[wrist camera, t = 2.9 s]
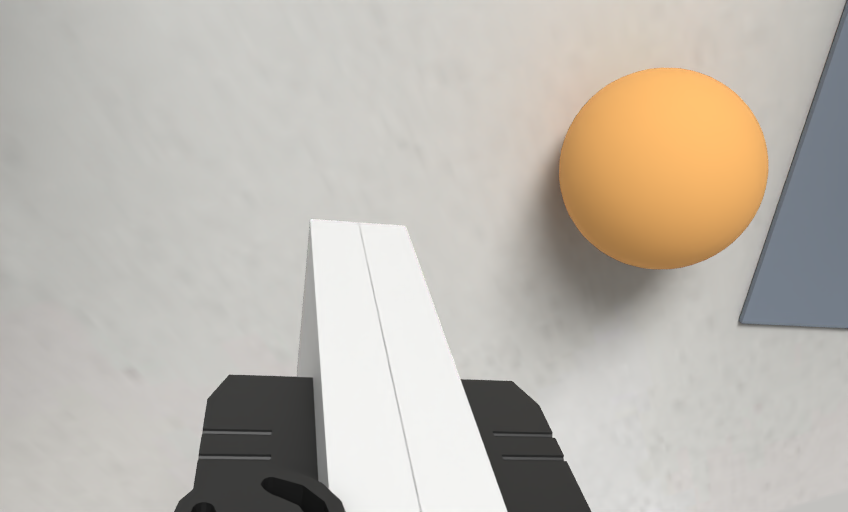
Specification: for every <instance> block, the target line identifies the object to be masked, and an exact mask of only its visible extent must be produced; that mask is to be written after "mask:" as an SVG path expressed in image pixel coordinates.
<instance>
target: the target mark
mask: <svg viewBox="0 0 848 512" xmlns="http://www.w3.org/2000/svg"><path fill="white" fill-rule="evenodd" d="M739 321H740V322H741V323H746V324H767V325H789V326H810V327H832V328H848V0H847V3H846V6H845V9H844V11H843V14H842V17H841V20H840V23H839V26H838V29H837V32H836V35H835V38H834V41H833V44H832V47H831V50H830V53H829V56H828V59H827V62H826V65H825V68H824V71H823V74H822V77H821V80H820V82H819V85H818V88H817V91H816V94H815V97H814V100H813V103H812V106H811V109H810V112H809V115H808V118H807V121H806V124H805V127H804V130H803V133H802V136H801V139H800V142H799V145H798V148H797V150H796V153H795V156H794V159H793V162H792V165H791V168H790V171H789V174H788V177H787V180H786V183H785V186H784V189H783V192H782V195H781V198H780V201H779V204H778V207H777V210H776V213H775V216H774V218H773V221H772V224H771V227H770V230H769V233H768V236H767V239H766V242H765V245H764V248H763V251H762V254H761V257H760V260H759V263H758V266H757V269H756V272H755V275H754V278H753V281H752V284H751V286H750V289H749V292H748V295H747V298H746V301H745V304H744V307H743V310H742V313H741V316H740V319H739Z"/></svg>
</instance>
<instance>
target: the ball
mask: <svg viewBox="0 0 848 512" xmlns="http://www.w3.org/2000/svg"><path fill="white" fill-rule="evenodd" d="M767 177H768V154H767V147H766V142H765V139H764V135H763V132H762V130H761V128H760V126H759V123H758V121H757V119H756V118H755V116H754V114H753V113H752V111H751V110H750V108H749V107H748V106H747V105H746V104H745V102H744V101H743V100H742V99H741V98H740V97H739V96H738V95H737V94H736V93H735V92H734V91H732V90H731V89H730V88H728V87H727V86H726V85H724V84H722V83H721V82H719V81H717V80H715V79H713V78H712V77H710V76H707V75H704V74H701V73H698V72H695V71H691V70H686V69H681V68H654V69H647V70H643V71H639V72H635V73H632V74H630V75H627V76H624V77H621V78H620V79H618V80H616V81H614V82H612V83H610V84H609V85H607V86H606V87H604V88H603V89H601V90H600V91H599V92H597V93H596V94H595V95H594V96H593V97H592V98H591V99H590V100H589V101H588V102H587V103H586V104H585V105H584V106H583V107H582V109H581V110H580V111H579V113H578V114H577V115H576V117H575V118H574V120H573V122H572V124H571V126H570V127H569V129H568V132H567V134H566V137H565V139H564V142H563V146H562V149H561V155H560V162H559V181H560V189H561V193H562V197H563V201H564V204H565V206H566V209H567V211H568V213H569V216H570V217H571V219H572V220H573V222H574V224H575V225H576V227H577V228H578V230H579V231H580V232H581V233H582V235H583V236H584V237H585V238H586V239H587V240H588V241H589V242H590V243H591V244H593V245H594V246H595V247H596V248H597V249H598V250H600V251H601V252H603V253H605V254H606V255H608V256H610V257H612V258H613V259H615V260H618V261H620V262H622V263H625V264H629V265H632V266H636V267H640V268H646V269H675V268H681V267H685V266H689V265H693V264H696V263H698V262H701V261H704V260H706V259H708V258H710V257H712V256H714V255H716V254H717V253H719V252H721V251H722V250H724V249H725V248H726V247H728V246H729V245H730V244H731V243H733V242H734V241H735V240H736V239H737V238H738V237H739V236H740V235H741V234H742V233H743V231H744V230H745V229H746V228H747V227H748V225H749V224H750V222H751V221H752V219H753V218H754V216H755V214H756V212H757V210H758V209H759V207H760V204H761V201H762V199H763V196H764V192H765V188H766V184H767Z"/></svg>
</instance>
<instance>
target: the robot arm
mask: <svg viewBox="0 0 848 512" xmlns="http://www.w3.org/2000/svg"><path fill="white" fill-rule="evenodd" d="M563 457H564V455H563V453H562V451H561V449H560V447H559V445H558V443H557V441H556V439H555V438H552V431H551V429H550V427H549V425H548V422H547V420H546V418H545V416H544V414H543V412H542V410H541V408H540V406H539V405H538V404H537V403H536V402H535V401H534V400H533V399H532V398H530V397H529V396H528V395H527V394H526V393H525V392H524V391H523V390H521V389H520V388H519V387H518V386H517V385H516V384H515V383H514V382H512V381H493V380H463V379H460V377H459V374H458V371H457V368H456V366H455V363H454V360H453V357H452V354H451V351H450V349H449V346H448V343H447V340H446V337H445V335H444V332H443V329H442V326H441V323H440V321H439V318H438V315H437V312H436V309H435V306H434V304H433V301H432V298H431V295H430V292H429V290H428V287H427V284H426V281H425V278H424V276H423V273H422V270H421V267H420V264H419V261H418V259H417V256H416V253H415V250H414V247H413V245H412V242H411V239H410V236H409V233H408V231H407V228H406V226H403V225H389V224H375V223H361V222H347V221H333V220H319V219H310V227H309V238H308V250H307V261H306V273H305V284H304V296H303V307H302V319H301V330H300V342H299V353H298V365H297V377H285V376H254V375H229V376H228V377H227V378H226V379H225V380H224V381H223V382H222V383H221V385H220V386H219V387H218V388H217V389H216V390H215V391H214V392H213V394H212V395H211V396H210V397H209V398H208V399H207V406H206V412H205V418H204V425H203V434H202V437H201V444H200V450H199V459H198V463H197V469H196V475H195V481H194V488H193V490H192V491H191V492H189V493H188V494H187V495H186V496H185V497H183V498H182V499H181V500H180V501H179V503H178V505H177V507H176V509H175V511H174V512H591V510H590V508H589V506H588V504H587V502H586V500H585V498H584V496H583V494H582V492H581V490H580V488H579V486H578V484H577V482H576V479H575V477H574V475H573V473H572V471H571V469H570V467H569V465H568V463H567V461H564V459H563Z"/></svg>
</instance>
